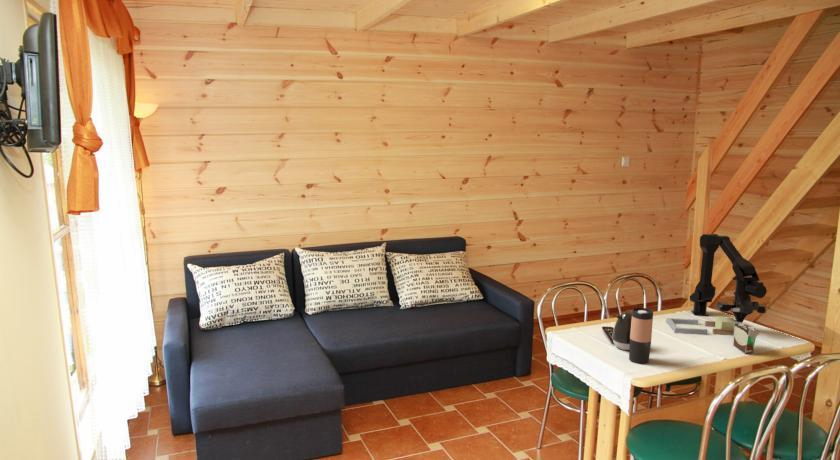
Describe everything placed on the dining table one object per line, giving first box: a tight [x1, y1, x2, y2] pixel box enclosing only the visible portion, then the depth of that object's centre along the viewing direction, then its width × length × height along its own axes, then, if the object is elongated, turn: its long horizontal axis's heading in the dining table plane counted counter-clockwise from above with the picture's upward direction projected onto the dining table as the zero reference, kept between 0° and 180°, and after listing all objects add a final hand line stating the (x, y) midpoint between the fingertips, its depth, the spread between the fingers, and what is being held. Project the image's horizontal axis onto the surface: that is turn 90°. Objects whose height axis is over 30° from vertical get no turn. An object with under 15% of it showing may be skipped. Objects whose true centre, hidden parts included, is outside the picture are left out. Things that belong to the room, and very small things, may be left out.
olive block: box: [714, 316, 737, 330], centre depth 262 cm, size 7×7×5 cm
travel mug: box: [628, 307, 654, 365], centre depth 225 cm, size 8×8×20 cm
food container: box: [732, 322, 759, 355], centre depth 238 cm, size 12×6×10 cm, turn 179°
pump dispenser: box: [611, 311, 632, 351], centre depth 238 cm, size 10×10×15 cm
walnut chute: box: [704, 320, 734, 336], centre depth 262 cm, size 12×16×2 cm
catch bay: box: [665, 317, 709, 336], centre depth 265 cm, size 15×14×2 cm
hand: (738, 325), depth 261 cm, fingers closed
